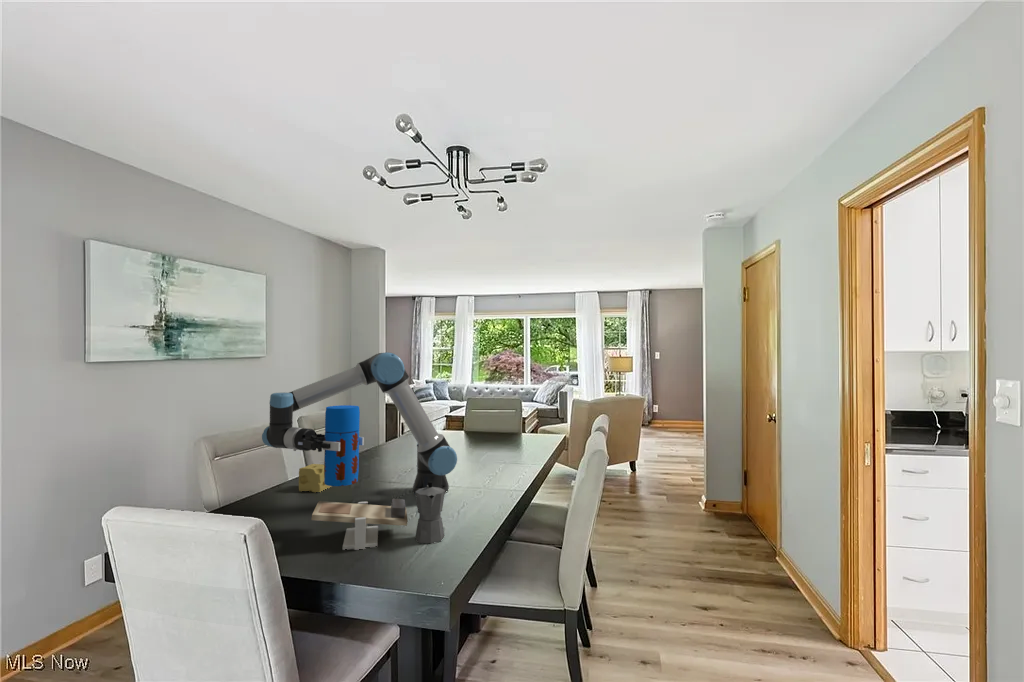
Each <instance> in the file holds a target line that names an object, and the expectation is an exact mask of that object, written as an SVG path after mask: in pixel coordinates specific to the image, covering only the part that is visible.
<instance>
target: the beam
mask: <svg viewBox="0 0 1024 682" xmlns="http://www.w3.org/2000/svg"><path fill="white" fill-rule="evenodd" d="M361 517H366V523H368V524H369V525H370V524H372V525H384V526H385V525H389V526H401V527H402V526H406V527H407V526H408V514H407V506H406V500H405V498H404V499H403V498H398V499H397V498H392V499H391V505H378V504H358V503H350V502H338V501H337V502H336V501H323V500H318V502H317V504H316V506H315V508H314V510H313V512H312V514H311V521H316V522H317V521H322V522H337V523H353V524H355V518H361ZM368 524H367V525H368Z"/></svg>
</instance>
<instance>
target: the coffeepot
mask: <svg viewBox="0 0 1024 682" xmlns="http://www.w3.org/2000/svg"><path fill="white" fill-rule="evenodd" d="M432 484H433V482H432V481H429V482H428V484H427V486H426V488H421V489H418V490H417V491H416V492H415V494H414V496H415V500H416V509H417V513H418V514H419V517H418V519H417V520H418V521H417V524H416V530H415V537H414V540H415V541H416V540H417V541H418V542H417V541H416V542H417V543H419V542H420V544H422V543H433V544H435V543H434V542H438V541H440V542H442V541H443V540H444V539H443V538H445V537H444V536H445V530H444V525H443V523H444V522H443V518H442V516H441V513H442V511H443V508H444V507H443V506H444V500H445V494H446V493H445V490H444V489H442V488H438V487H432ZM442 539H443V540H442ZM441 540H442V541H441ZM438 543H439V542H438Z"/></svg>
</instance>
